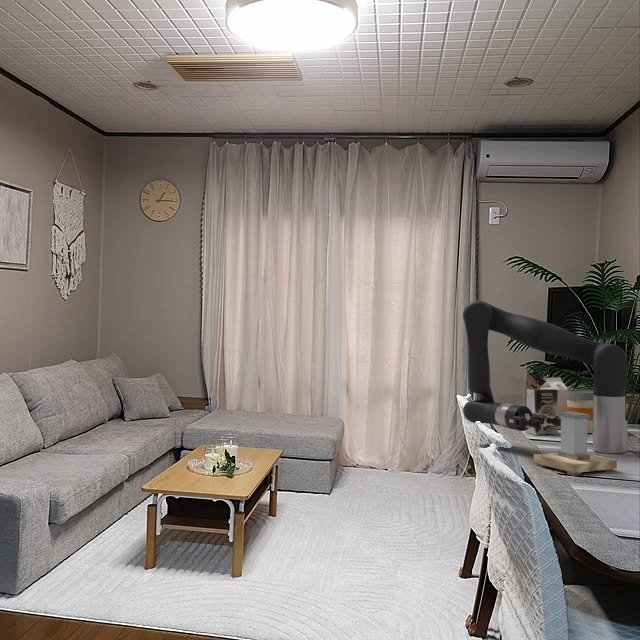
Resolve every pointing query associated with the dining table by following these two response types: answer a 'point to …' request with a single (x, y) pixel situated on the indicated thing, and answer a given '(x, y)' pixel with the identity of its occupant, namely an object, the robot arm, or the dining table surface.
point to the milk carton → (558, 385)
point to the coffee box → (542, 408)
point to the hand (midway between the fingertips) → (552, 423)
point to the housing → (574, 435)
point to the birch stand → (575, 463)
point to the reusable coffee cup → (581, 404)
